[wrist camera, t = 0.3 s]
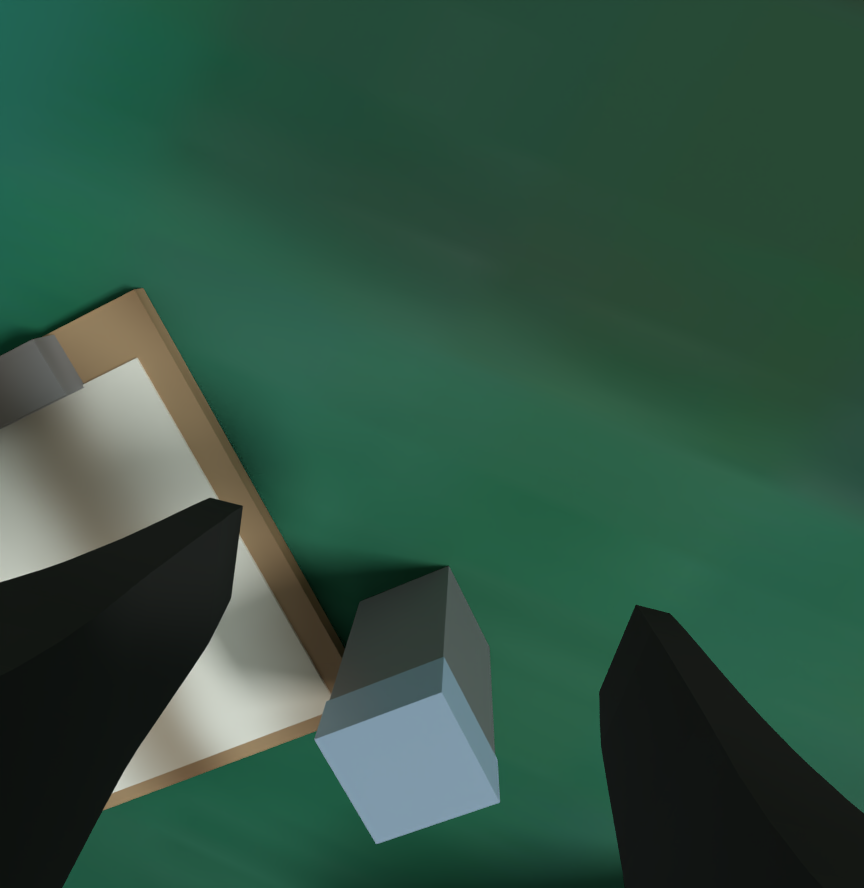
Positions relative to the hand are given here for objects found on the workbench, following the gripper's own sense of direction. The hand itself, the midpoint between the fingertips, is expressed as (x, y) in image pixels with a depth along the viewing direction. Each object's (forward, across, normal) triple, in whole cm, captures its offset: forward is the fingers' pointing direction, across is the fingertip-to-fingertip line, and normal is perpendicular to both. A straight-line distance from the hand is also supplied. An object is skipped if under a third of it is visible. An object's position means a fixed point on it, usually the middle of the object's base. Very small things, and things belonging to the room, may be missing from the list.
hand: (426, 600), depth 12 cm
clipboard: (+9, +10, +9) cm, 16 cm away
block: (+9, -1, +8) cm, 12 cm away
